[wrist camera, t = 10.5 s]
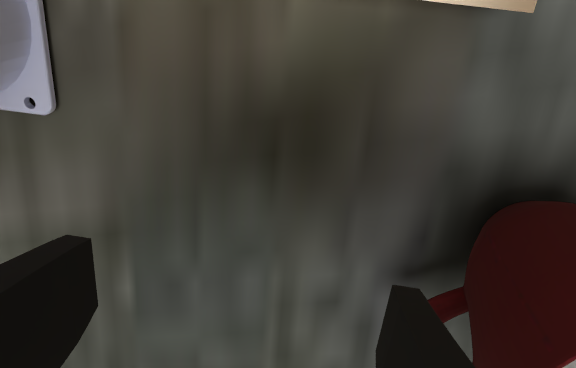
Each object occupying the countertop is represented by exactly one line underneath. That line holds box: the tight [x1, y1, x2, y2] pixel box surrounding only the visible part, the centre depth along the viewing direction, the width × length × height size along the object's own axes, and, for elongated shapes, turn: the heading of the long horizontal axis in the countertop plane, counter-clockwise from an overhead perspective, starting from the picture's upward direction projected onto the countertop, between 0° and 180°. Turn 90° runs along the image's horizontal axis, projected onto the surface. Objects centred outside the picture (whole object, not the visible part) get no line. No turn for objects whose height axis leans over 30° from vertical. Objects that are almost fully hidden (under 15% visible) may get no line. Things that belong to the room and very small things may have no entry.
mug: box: [427, 201, 576, 368], centre depth 17 cm, size 11×8×10 cm
